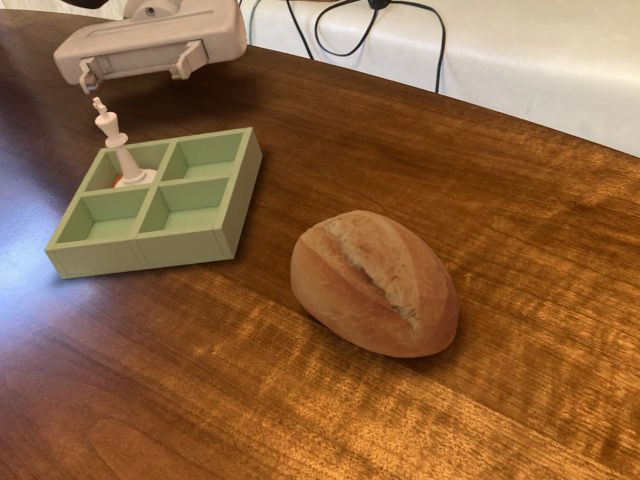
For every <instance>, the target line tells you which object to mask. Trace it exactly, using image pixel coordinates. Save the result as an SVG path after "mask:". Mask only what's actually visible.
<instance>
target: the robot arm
mask: <svg viewBox="0 0 640 480" xmlns="http://www.w3.org/2000/svg"><path fill="white" fill-rule="evenodd" d="M60 1H61V2H62V3H65V4H68V5H70V6H74V7H76V8H81V9H86V10H99V9H100V8H102V7H103V6H104V5H106V4H107V3H108V2H109V1H110V0H60ZM247 46H248V37H247V30H246V25H245V20H244V15H243V13H242V10H241V7H240V3H239V1H238V0H127V1H126V3H125V6H124V8H123V14H122V19H119V20H113V21H107V22H101V23H95V24H90V25H86V26H83V27H81V28H79V29H78V30H76V31H75V32H73V33H72V34H71V35H70V36H68V37H67V38H66V39H65V40H64V41H63V42H62V43H61V44H60V45H59V46H58V47H57V48H56V49H55V51H54V53H53V59H54V63H55V65H56V67H57V69H58V71H59V73H60V75H61V76H62V78H63V79H64V81H65V82H67V84H69V85H71V86H76V85H80V87H81V88H82V90H83V93H84V94H85V95H92V94H97V93H102V90H104V87H105V86H106V85H105V83H104V81H108V80H114V79H120V78H121V79H122V78H127V77H135V76H140V75H146V74H153V73H160V72H166V71H169V73H170V74H171V79H172V81H174V82H176V81H183V80H188V79H189V78H190V76H191V74H192V73H193V72H195V71H196V70H198V69H200V68H201V67H203V66H205V65H211V64H216V63H222V62H230V61H235V60H237V59H239V58H241V57H242V56H244V55H245V53H246V50H247V48H248V47H247Z"/></svg>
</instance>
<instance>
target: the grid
mask: <svg viewBox="0 0 640 480" xmlns="http://www.w3.org/2000/svg"><path fill="white" fill-rule="evenodd" d="M124 145H125V146H126V148H127V150H128V151H129V153H130V155H131V156H132V158H133V159H134V161H135V162H136V164H137V165H138V167H139V168H140V169H152V170H156V171H157V173H156V175H155V177H154V180H153V182H152V183H147V184H139V185H132V186H124V187H117V188H115V185H116V184H117V183H118V181H119V180H121V179H122V177H123V171H122V168H121V165H120V162H119V159H118V156H117V154H116V151H115V148H109V147H102V148H100V149H99V151H98V153H97V154H96V156H95V157H94V160H93V162H92V164H91V165H90V167H89V169H88V171H87V172H86V174H85V176H84V178H83V179H82V182H81V183H80V185H79V187H78V189H77V190H76V192H75V194H74V196H73V197H72V199H71V201H70V203H69V205H68V207H67V208H66V210H65V211H64V213H63V215H62V217H61V218H60V221H59V223H58V224H57V226H56V228H55V230H54V232H53V233H52V235H51V237H50V239H48V242H47V243H46V246H45V248H44V250H43V251H44V253H45V255H46V256H47V259H49V261H50V262H51V264H52V266H53V267H54V269H55V270H56V272H57V273H58V275H59V277H60V278H61V280H69V279H76V278H77V279H78V278H85V277H93V276H102V275H109V274H119V273H127V272H135V271H143V270H153V269H160V268H168V267H177V266H186V265H192V264H202V263H210V262H218V261H226V260H227V261H228V260H234V259H235V257H236V253H237V249H238V246H239V243H240V238H241V235H242V232H243V228H244V225H245V220H246V217H247V214H248V211H249V207H250V203H251V199H252V195H253V192H254V189H255V184H256V182H257V178H258V174H259V170H260V168H261V164H262V159H263V156H264V155H263V153H262V150H261V147H260V144H259V141H258V138H257V135H256V133H255V130H254V128H253V126H248V127H242V128H241V127H240V128H235V129H226V130H220V131H213V132H207V133H200V134H193V135H185V136H179V137H172V138H165V139H164V138H163V139H158V140H151V141H143V142H136V143H129V144H124Z"/></svg>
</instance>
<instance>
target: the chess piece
mask: <svg viewBox="0 0 640 480" xmlns="http://www.w3.org/2000/svg"><path fill="white" fill-rule="evenodd" d="M92 101H93V103H92V106H93V107H94V109H96V110H97V111H98V113H99V115H98V116H97V117H96V118H95V119H94V123H95V125H96V126H97V127H98V128H99V129H100V130H101V131H102V132H103V133H104V134H105V135H106V136H107V138H106V139H105V140H104V142H105V147H106V148H108V147H109V148H115V151H116V154H117V156H118V159H119V162H120V165H121V168H122V171H123V177H122V179H121V180H119V181H118V183H117V184H116V185H115V188H117V187H124V186H132V185H139V184H147V183H152V182H153V180H154V177H155V175H156V173H157V171H156V170H152V169H140V168H139V167H138V165H137V164H136V162H135V161H134V159H133V158H132V156H131V155H130V153H129V151H128V150H127V148H126V146H125V145H126V144H125V143H127V141H128V140H129V137H128V135H127V134H126V133H124V132H120V129H119V121H118V115H117V113H115V112H113V111H108V109H107V106H106V105H104V104H103V103H102V101H101V100H100V98H99V97H98V96H96V97H94V98H92Z"/></svg>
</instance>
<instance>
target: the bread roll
mask: <svg viewBox="0 0 640 480" xmlns="http://www.w3.org/2000/svg"><path fill="white" fill-rule="evenodd" d="M291 255H292V256H291V259H290V271H289V273H290V285H291V292H292V294H293V295H294V297H295V299H296V300H297V301H298V303H299V304H300V305H301V307H303V308H304V310H305V311H306V312H307V313H309V314H310V315H311V316H313V318H315V319H316V320H317V321H318V322H320V323H321V324H322V325H324V326H326V327H327V328H328V329H329V330H330V331H332V332H333V333H334V334H336V335H337V336H339V337H341V339H342V338H343V339H344V340H346V341H347V342H350V343H352V344H353V345H356V346H357V347H359V348H361V349H364V350H367V351H369V352H372V353H375V354H379V355H384V356H387V357H392V358H402V359H403V358H404V359H405V358H408V359H409V358H411V359H413V358H414V359H415V358H421V357H427V356H432V355H435V354H438V353H441V352H442V351H444V350H446V349H447V348H448V347H449V346H450V345H451V344H452V343H453V341H454V339H455V337H456V335H457V329H458V324H459V315H460V305H459V298H458V294H457V291H456V288H455V285H454V282H453V279H452V277H451V275H450V273H449V270H448V269H447V268H446V266H445V265H444V264H443V262H442V261H441V260H440V258H439V257H438V255H437V254H436V253H435V252H434V250H433V249H432V248H431V247H430V246H429V245H428V244H427V243H426V242H425V241H424V240H422V239H421V238H420V237H419V236H418V235H416V233H414V232H413V231H411V230H410V229H408V228H407V227H405V226H403V225H402V224H401V223H399V222H397V221H396V220H393V219H392V218H390V217H387V216H385V215H383V214H379V213H377V212H372V211H370V210H369V211H368V210H362V209H361V210H359V209H355V210H352V211H349V212H348V211H347V212H345V213H340V214H338V215H336V216H333V217H330V218H327V219H325V220H323V221H320V222H317V223H316V224H314V225H313V226H312V227H309V228H307V229H306V231H305V232H303V233H302V234H301V235H300V236H299V237H298V240H297V242H296V243H295V245H294V248H293V250H292V254H291Z"/></svg>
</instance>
